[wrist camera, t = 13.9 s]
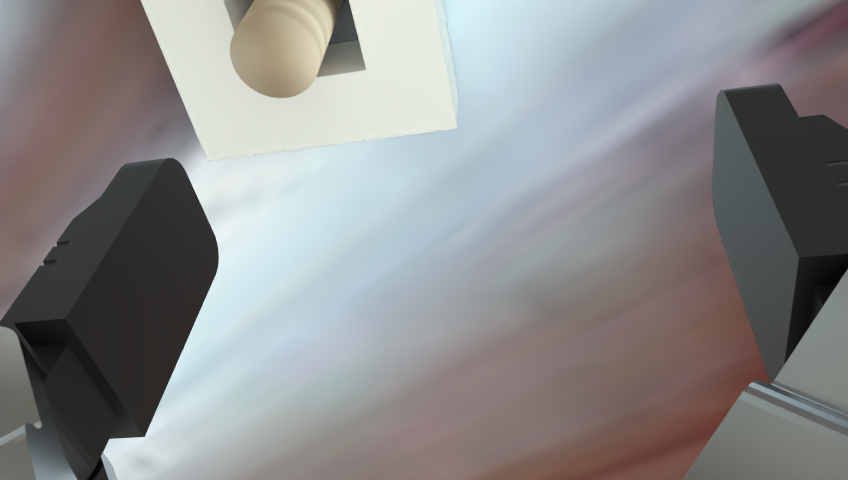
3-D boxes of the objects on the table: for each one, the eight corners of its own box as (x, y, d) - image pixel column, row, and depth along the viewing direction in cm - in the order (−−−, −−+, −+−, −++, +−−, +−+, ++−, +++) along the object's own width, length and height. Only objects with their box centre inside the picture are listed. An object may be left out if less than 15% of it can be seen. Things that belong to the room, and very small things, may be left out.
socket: (411, -180, 35) (405, -162, 32) (458, 92, 44) (456, 128, 41) (129, -125, 38) (98, -102, 34) (226, 125, 46) (207, 161, 43)
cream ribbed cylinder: (332, -53, 39) (305, 7, 33) (351, 22, 42) (329, 91, 35) (258, -40, 40) (217, 22, 34) (280, 33, 42) (246, 103, 36)
